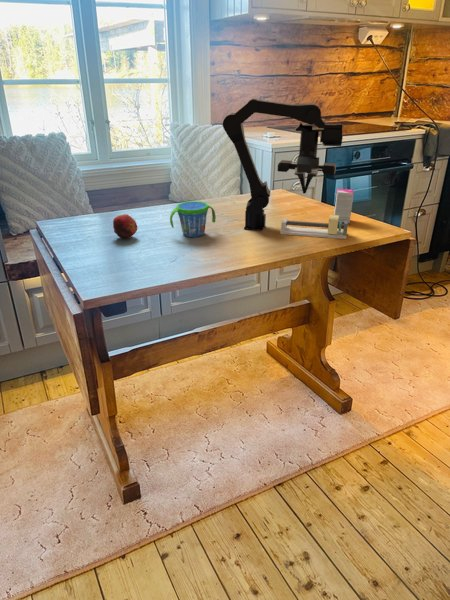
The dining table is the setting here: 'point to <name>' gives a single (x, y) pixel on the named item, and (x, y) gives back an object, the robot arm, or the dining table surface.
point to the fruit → (124, 226)
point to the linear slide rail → (313, 231)
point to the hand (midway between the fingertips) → (304, 193)
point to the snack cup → (192, 217)
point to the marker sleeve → (333, 224)
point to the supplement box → (343, 205)
